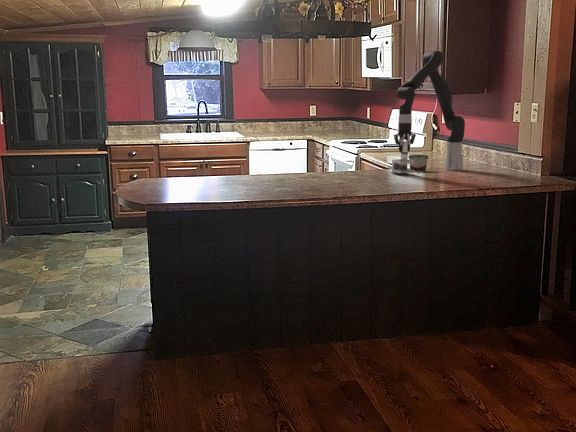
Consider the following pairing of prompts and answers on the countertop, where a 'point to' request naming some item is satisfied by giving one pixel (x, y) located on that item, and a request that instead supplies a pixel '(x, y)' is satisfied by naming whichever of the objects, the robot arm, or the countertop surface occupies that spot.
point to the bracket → (396, 166)
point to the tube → (404, 154)
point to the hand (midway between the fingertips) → (404, 151)
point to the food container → (418, 162)
